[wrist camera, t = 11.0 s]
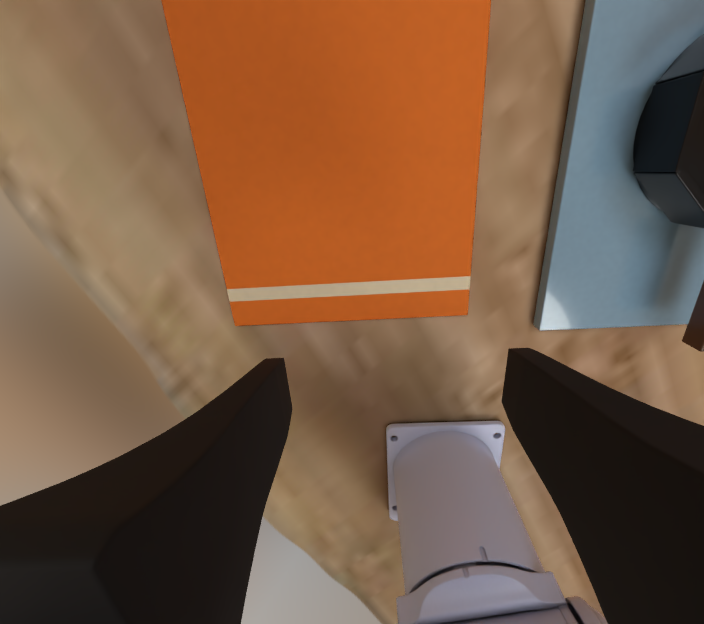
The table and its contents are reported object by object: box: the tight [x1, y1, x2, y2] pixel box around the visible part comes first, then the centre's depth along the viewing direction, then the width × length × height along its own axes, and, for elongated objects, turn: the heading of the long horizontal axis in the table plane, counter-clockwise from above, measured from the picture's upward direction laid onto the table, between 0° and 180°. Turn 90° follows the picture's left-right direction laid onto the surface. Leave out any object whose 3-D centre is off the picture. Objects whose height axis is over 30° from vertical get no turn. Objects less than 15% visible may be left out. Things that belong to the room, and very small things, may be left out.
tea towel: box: [162, 0, 491, 326], centre depth 16 cm, size 20×14×1 cm
